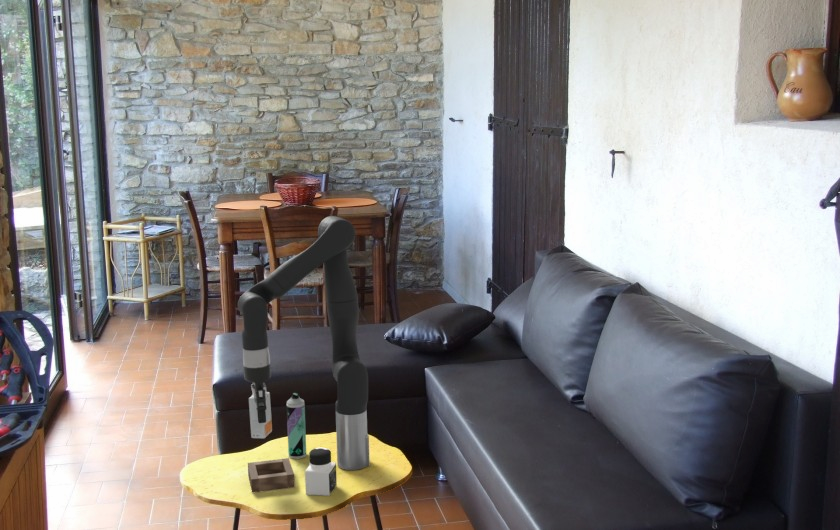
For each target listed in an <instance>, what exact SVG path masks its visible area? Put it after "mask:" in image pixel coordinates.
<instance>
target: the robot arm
mask: <svg viewBox="0 0 840 530" xmlns="http://www.w3.org/2000/svg"><path fill="white" fill-rule="evenodd" d="M317 236H318V239H316V241H314V242H313V243H312V244H311V245H310V246H309V247H307V248H306V249H305V250H303V251H301V252H299V253H298V254H297V255H295V256H293V257H291V258H290V259H288V260H286V261H285V262H283V263H282V264H281V265H279V266H278V267H277V268H276V269H275V270H274V271H272V272H271V273H270V274H269V275H267V277H265V279H263V280H261V281H259V282H258V283H256V284H255V285H253V286H251V287H250V288H248V289H247V290H246V291H244V293H242V295H241V296H240V297H239V299H238V301H237V308H238V311H239V312H240V313H241V314H242V316H243V317H242V319H243V330H242V333H241V339H242V340H241V341H242V342H241V343H242V364H243V376H244V378H243V379H244V380H245V381H247V382H249V383H252V384H251V385H250V387H251V388H250V389H251V391H252V394H251V395H254V402H255V403H256V406H257V408H256V410H257V413H258V422H259V423H265V422H266V412H265V410H266V408H267V407H266V400H267V399H266V392H267V385H266V383H265V382H266V381H268V380H270V379H271V377H272V367H271V355H270V350H269V340H268V332H267V331H268V323H269V318H268V317H269V310H268V305H269V303H271V302H272V301H274V300H276V299H277V300H278V299H281V298H282V297H284V296H285V295H286V294H288V293H289V292H290V291H291V290H292V289H293V288H294V287H296V286H297V285H298V284H299V283H300V282H301V281H303V279H305V278H306V277H307V276H308V275H310V274H311V273H312V272H313V271H315V270H316V269H317V268H319V267H320V266H322V265H323V272H324V286H325V287H324V289H325V300H326V311H327V317H328V318H327V319H328V326H329V331H330V332H329V333H330V337H331V341H332V342H331V343H332V345H331V346H332V347H331V348H332V357H331V358H332V367H331V368H332V376H333V378H334V380H335V381H336V383H337V400H336V401H335V426H336V427H335V428H336V429H335V431H336V432H335V433H336V461H337V462H336V466H337V467H338V468H340V469H342V470H346V471H357V470H362V469H363V468H366V467H370V466H371V465H370V436H369V434H368V418H367V417H368V415H367V414H368V413H367V407H368V406H367V404H368V402H369V374H368V372H369V371H368V369H367V367H366V366H365V365H364V363H363V362H362V361H361V360H360V359H361V358H360V355H359V349H358V344H357V330H358V325H359V319H360V309H359V308H360V307H359V296H358V292H357V286H356V284H355V280H354V277H353V274H352V271H351V268H350V265H349V261H348V260H349V259H348V249H347V248H349V247H351V246H352V244H353V243H354V241H355V238H356V229H355V226H354V225H353V224H352V223H351V221H349V220H347V219H345V218H343V217H339V216H336V215H329V216H327V217H325V218H323V219H322V220H321V222H320V223H319V225H318V229H317ZM262 402H263V405H264V406H259V403H262Z"/></svg>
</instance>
